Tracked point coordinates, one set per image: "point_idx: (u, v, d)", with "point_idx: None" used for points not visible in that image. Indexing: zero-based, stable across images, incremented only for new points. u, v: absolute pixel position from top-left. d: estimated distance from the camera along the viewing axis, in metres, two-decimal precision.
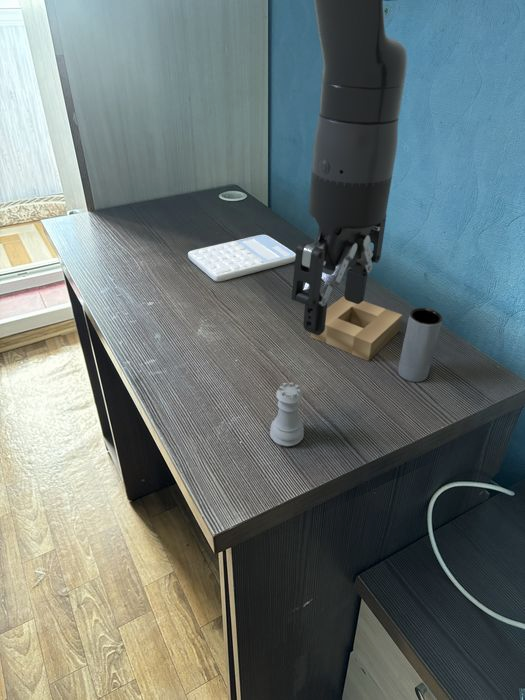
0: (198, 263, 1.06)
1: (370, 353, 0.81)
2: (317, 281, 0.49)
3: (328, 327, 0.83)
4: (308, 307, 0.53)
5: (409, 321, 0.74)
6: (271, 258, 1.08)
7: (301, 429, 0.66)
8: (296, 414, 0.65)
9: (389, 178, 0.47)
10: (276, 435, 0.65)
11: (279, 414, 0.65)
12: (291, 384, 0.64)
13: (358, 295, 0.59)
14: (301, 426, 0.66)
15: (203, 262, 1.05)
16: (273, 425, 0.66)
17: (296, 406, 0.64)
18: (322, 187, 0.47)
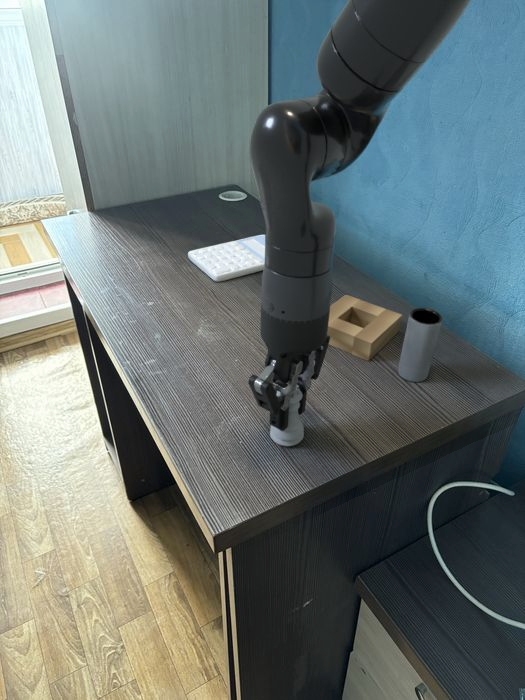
0: (198, 263, 1.06)
1: (370, 353, 0.81)
2: (273, 400, 0.58)
3: (328, 327, 0.83)
4: None
5: (409, 321, 0.74)
6: None
7: (301, 429, 0.66)
8: (296, 414, 0.65)
9: (326, 313, 0.54)
10: (276, 435, 0.65)
11: None
12: None
13: (299, 407, 0.66)
14: (301, 426, 0.66)
15: (203, 262, 1.05)
16: None
17: (296, 406, 0.64)
18: (268, 320, 0.55)
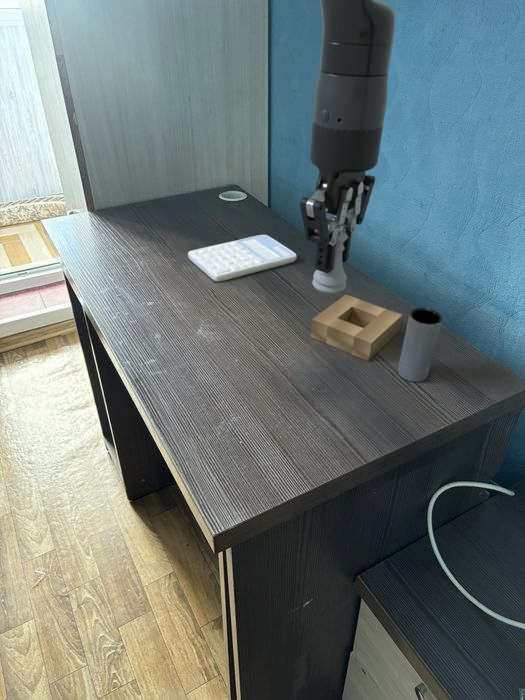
0: (198, 263, 1.06)
1: (370, 353, 0.81)
2: (324, 226, 0.57)
3: (328, 327, 0.83)
4: (319, 247, 0.62)
5: (409, 321, 0.74)
6: (271, 258, 1.08)
7: (345, 276, 0.66)
8: (341, 258, 0.64)
9: (380, 127, 0.54)
10: (320, 281, 0.65)
11: None
12: None
13: (343, 254, 0.65)
14: (344, 274, 0.66)
15: (203, 262, 1.05)
16: (316, 273, 0.66)
17: (341, 247, 0.63)
18: (322, 135, 0.54)
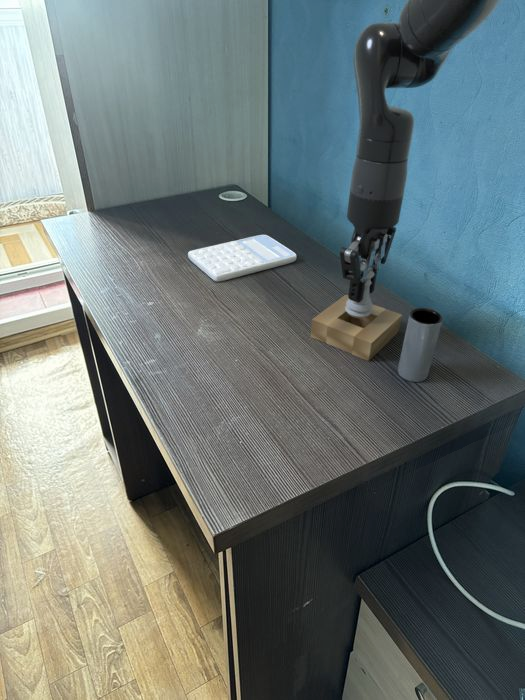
0: (198, 263, 1.06)
1: (370, 353, 0.81)
2: (357, 268, 0.75)
3: (328, 327, 0.83)
4: (353, 283, 0.80)
5: (409, 321, 0.74)
6: (271, 258, 1.08)
7: (371, 304, 0.83)
8: (368, 290, 0.82)
9: (401, 196, 0.72)
10: (352, 308, 0.83)
11: None
12: None
13: (370, 287, 0.83)
14: (371, 302, 0.84)
15: (203, 262, 1.05)
16: (348, 301, 0.84)
17: (369, 282, 0.81)
18: (358, 202, 0.72)
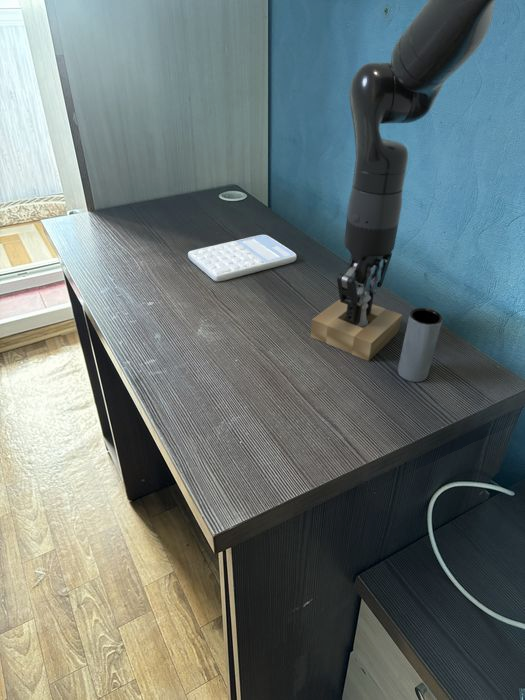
0: (198, 263, 1.06)
1: (370, 353, 0.81)
2: (354, 294, 0.78)
3: (328, 327, 0.83)
4: (350, 307, 0.82)
5: (409, 321, 0.74)
6: (271, 258, 1.08)
7: None
8: (365, 313, 0.84)
9: (396, 225, 0.74)
10: None
11: None
12: None
13: (367, 309, 0.86)
14: (367, 324, 0.86)
15: (203, 262, 1.05)
16: None
17: (366, 305, 0.83)
18: (354, 230, 0.75)
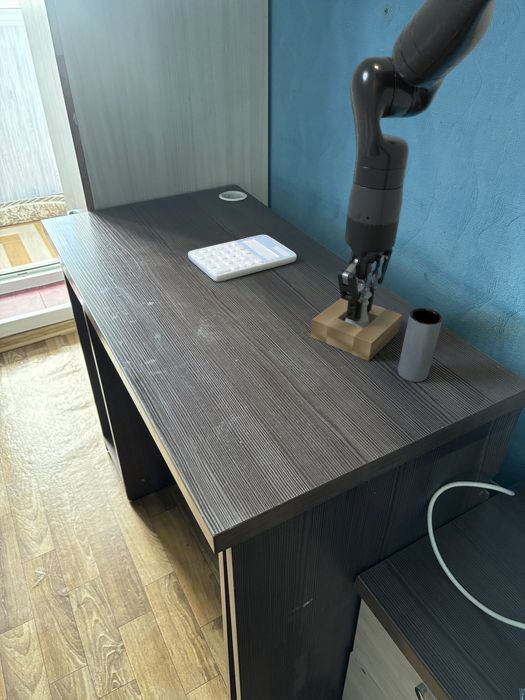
0: (198, 263, 1.06)
1: (370, 353, 0.81)
2: (355, 290, 0.77)
3: (328, 327, 0.83)
4: (350, 303, 0.82)
5: (409, 321, 0.74)
6: (271, 258, 1.08)
7: (368, 323, 0.85)
8: (366, 309, 0.84)
9: (397, 220, 0.74)
10: None
11: None
12: None
13: (367, 306, 0.85)
14: (368, 321, 0.86)
15: (203, 262, 1.05)
16: (346, 320, 0.86)
17: (366, 302, 0.83)
18: (355, 226, 0.74)
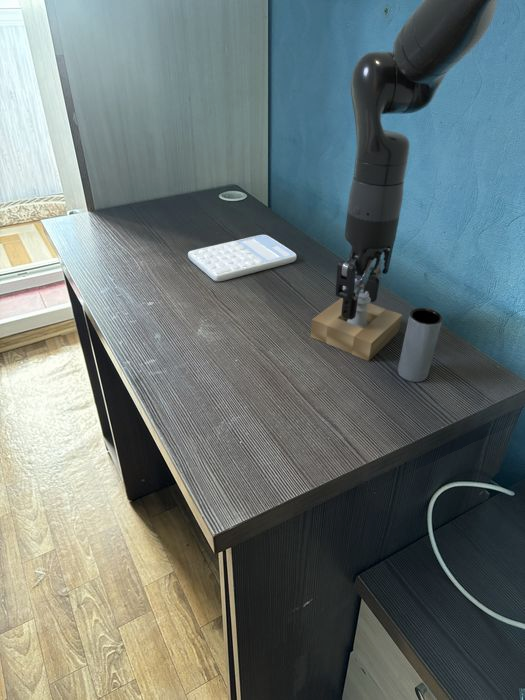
0: (198, 263, 1.06)
1: (370, 353, 0.81)
2: (352, 284, 0.76)
3: (328, 327, 0.83)
4: (345, 301, 0.80)
5: (409, 321, 0.74)
6: (271, 258, 1.08)
7: None
8: (365, 314, 0.84)
9: (397, 217, 0.74)
10: None
11: None
12: (362, 291, 0.84)
13: (373, 296, 0.86)
14: None
15: (203, 262, 1.05)
16: None
17: (365, 307, 0.84)
18: (355, 223, 0.74)
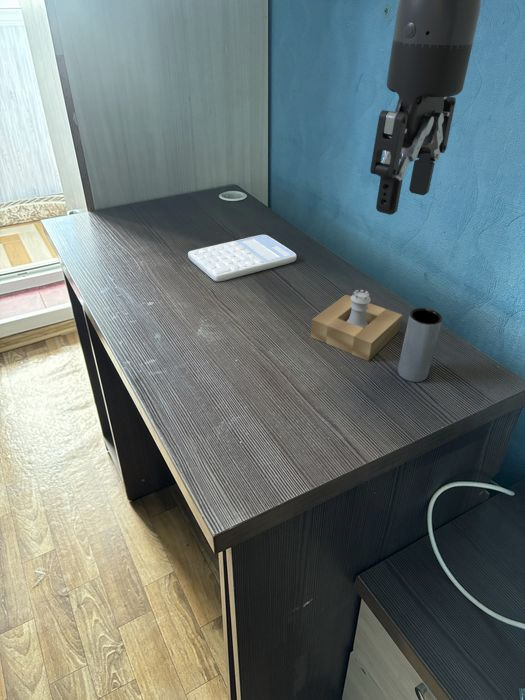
0: (198, 263, 1.06)
1: (370, 353, 0.81)
2: (398, 148, 0.50)
3: (328, 327, 0.83)
4: (384, 183, 0.54)
5: (409, 321, 0.74)
6: (271, 258, 1.08)
7: None
8: (365, 314, 0.84)
9: (471, 44, 0.48)
10: None
11: (352, 315, 0.85)
12: (362, 291, 0.84)
13: (424, 185, 0.61)
14: None
15: (203, 262, 1.05)
16: None
17: (365, 307, 0.84)
18: (406, 53, 0.49)
